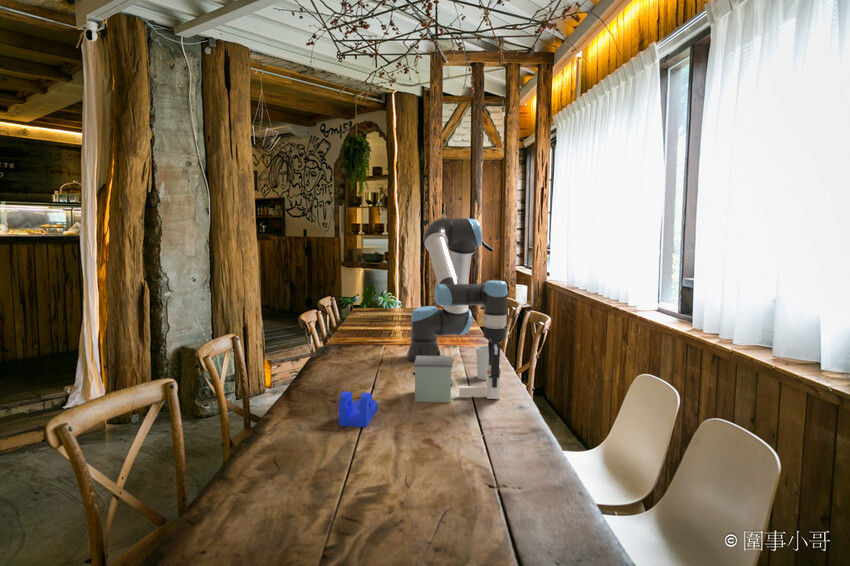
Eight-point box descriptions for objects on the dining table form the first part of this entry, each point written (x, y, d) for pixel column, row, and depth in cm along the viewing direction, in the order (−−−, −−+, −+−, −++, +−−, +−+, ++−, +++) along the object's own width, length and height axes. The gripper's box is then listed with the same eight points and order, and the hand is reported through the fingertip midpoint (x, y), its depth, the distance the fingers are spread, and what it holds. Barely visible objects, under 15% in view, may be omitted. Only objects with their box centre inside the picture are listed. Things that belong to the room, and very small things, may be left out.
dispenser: (452, 391, 170) (453, 356, 169) (452, 402, 159) (453, 365, 158) (416, 390, 171) (416, 355, 170) (413, 401, 160) (414, 364, 158)
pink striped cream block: (499, 396, 165) (499, 365, 164) (499, 399, 162) (500, 367, 161) (459, 394, 166) (459, 363, 165) (459, 397, 163) (459, 366, 162)
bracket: (366, 427, 138) (366, 397, 137) (338, 425, 139) (338, 395, 138) (380, 405, 156) (380, 379, 155) (355, 404, 157) (355, 377, 156)
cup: (495, 375, 191) (495, 345, 190) (496, 381, 184) (496, 350, 182) (475, 374, 192) (475, 345, 191) (475, 380, 184) (475, 349, 183)
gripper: (481, 321, 171) (480, 384, 173) (485, 331, 152) (483, 402, 155) (503, 321, 171) (501, 384, 173) (509, 332, 152) (507, 403, 154)
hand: (493, 392), depth 164 cm, fingers open, 6 cm apart
